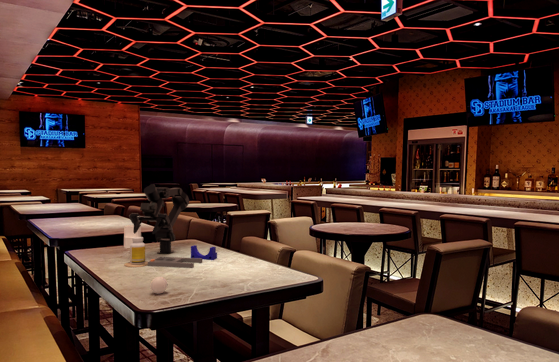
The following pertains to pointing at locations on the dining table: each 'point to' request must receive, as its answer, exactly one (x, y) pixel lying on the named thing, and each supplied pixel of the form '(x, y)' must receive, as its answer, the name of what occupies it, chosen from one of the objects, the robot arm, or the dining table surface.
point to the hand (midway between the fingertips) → (143, 233)
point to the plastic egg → (158, 285)
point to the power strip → (174, 262)
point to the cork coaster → (136, 265)
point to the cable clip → (209, 256)
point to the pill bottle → (137, 251)
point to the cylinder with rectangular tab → (130, 235)
